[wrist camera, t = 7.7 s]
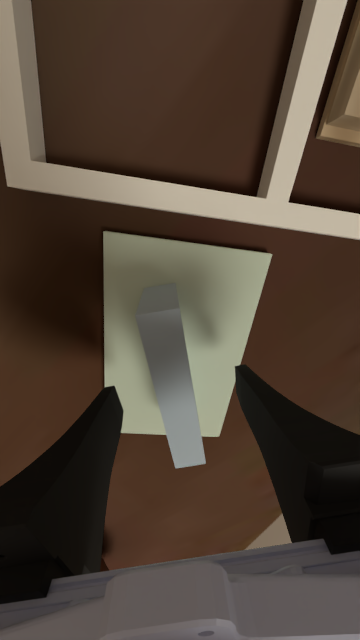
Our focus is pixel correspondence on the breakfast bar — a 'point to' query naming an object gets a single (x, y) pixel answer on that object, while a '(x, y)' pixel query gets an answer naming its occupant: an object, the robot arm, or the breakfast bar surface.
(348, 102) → the offcut upper
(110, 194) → the rack
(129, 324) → the mat
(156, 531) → the breakfast bar surface
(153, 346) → the grey rectangular block
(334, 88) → the offcut lower
